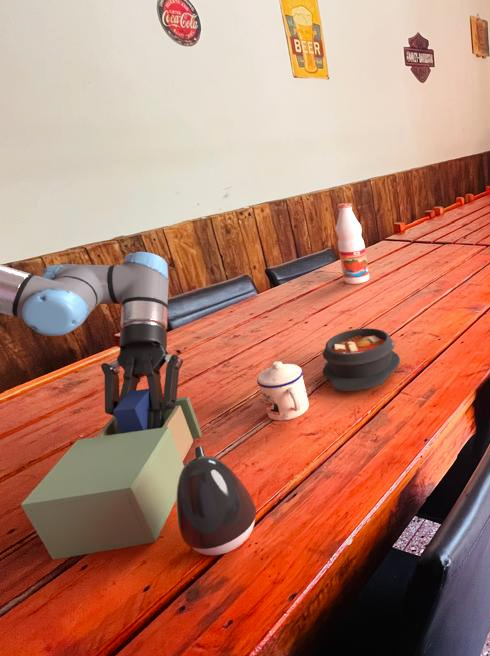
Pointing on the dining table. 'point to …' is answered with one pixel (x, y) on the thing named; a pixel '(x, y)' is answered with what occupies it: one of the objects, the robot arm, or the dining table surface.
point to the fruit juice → (351, 246)
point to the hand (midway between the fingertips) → (139, 450)
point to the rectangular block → (133, 411)
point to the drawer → (172, 425)
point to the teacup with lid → (283, 391)
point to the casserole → (359, 359)
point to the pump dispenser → (213, 506)
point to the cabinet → (107, 493)
